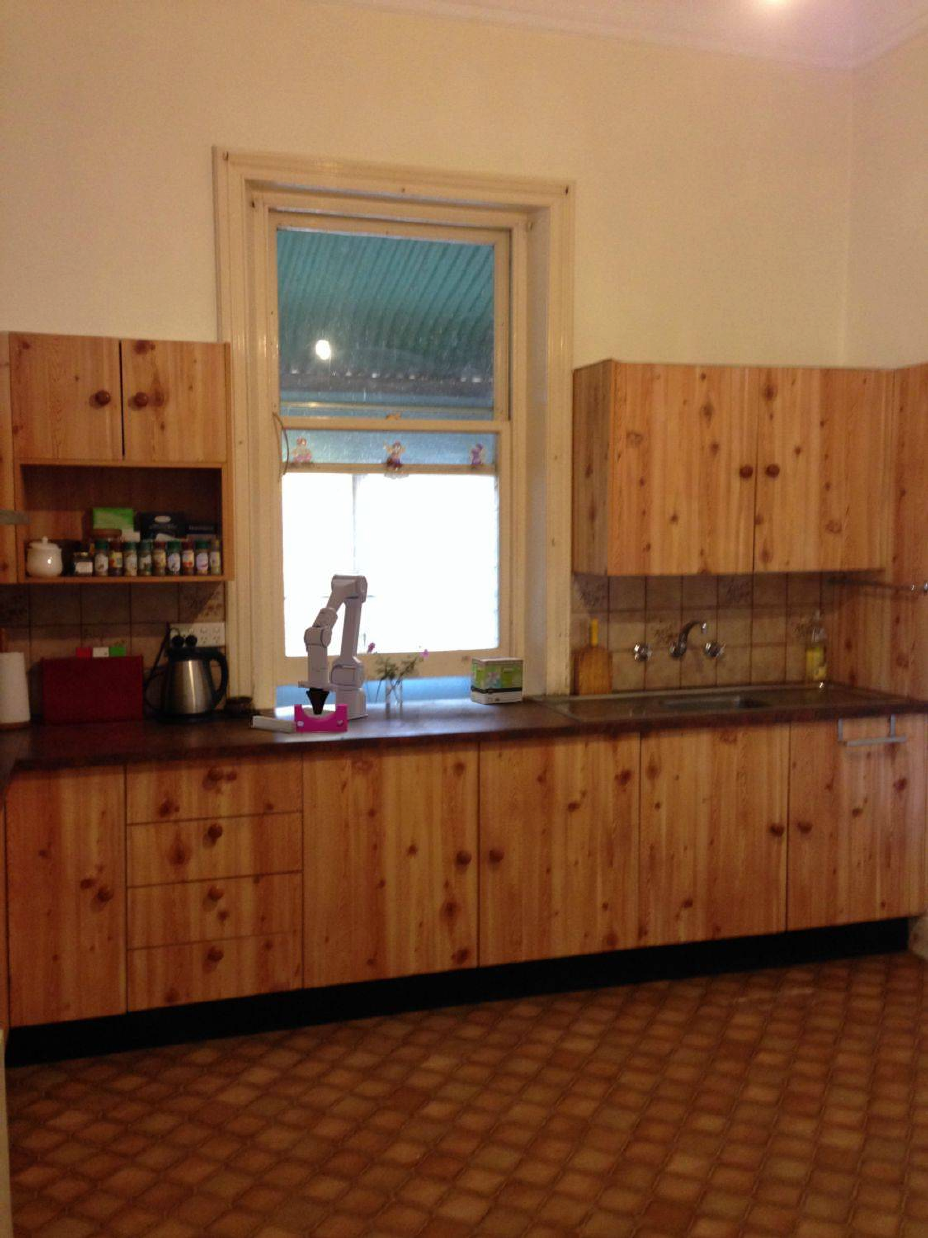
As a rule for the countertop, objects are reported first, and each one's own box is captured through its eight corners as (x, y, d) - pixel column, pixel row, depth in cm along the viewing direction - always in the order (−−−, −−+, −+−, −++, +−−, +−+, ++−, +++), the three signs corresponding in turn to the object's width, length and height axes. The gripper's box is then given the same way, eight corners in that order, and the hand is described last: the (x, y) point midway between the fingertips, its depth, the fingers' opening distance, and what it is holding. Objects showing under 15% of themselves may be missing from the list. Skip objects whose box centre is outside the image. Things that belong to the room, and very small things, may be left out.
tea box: (484, 705, 359) (485, 660, 358) (470, 700, 368) (470, 657, 367) (523, 701, 366) (523, 658, 365) (507, 697, 375) (508, 655, 374)
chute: (309, 716, 335) (309, 706, 335) (347, 722, 325) (347, 712, 325) (250, 727, 317) (250, 717, 316) (288, 733, 307) (288, 723, 307)
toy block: (346, 727, 318) (346, 702, 317) (347, 731, 311) (347, 705, 311) (295, 728, 316) (294, 702, 315) (294, 732, 310) (294, 706, 309)
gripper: (290, 667, 316) (290, 713, 317) (325, 671, 307) (325, 719, 308) (307, 665, 322) (308, 710, 323) (343, 669, 313) (343, 715, 314)
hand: (317, 714), depth 316 cm, fingers closed
